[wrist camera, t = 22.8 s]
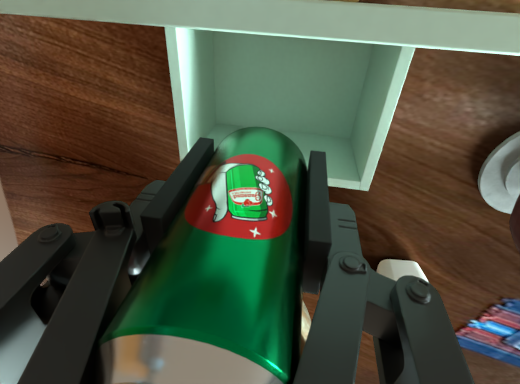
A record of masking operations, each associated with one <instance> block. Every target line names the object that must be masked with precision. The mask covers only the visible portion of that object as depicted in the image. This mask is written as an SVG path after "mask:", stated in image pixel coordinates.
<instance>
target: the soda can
mask: <svg viewBox="0 0 520 384" xmlns="http://www.w3.org/2000/svg"><path fill="white" fill-rule="evenodd" d="M306 189H307V166H306V161H305V158H304V156H303V154H302V152H301V150H300V149H299V147H298V146H297V145H296V144H295V143H294V142H293V141H292V140H291V139H290V138H289V137H287V136H286V135H284V134H282V133H281V132H278V131H276V130H274V129H270V128H266V127H257V126H255V127H246V128H241V129H239V130H236V131H234V132H232V133H230V134H229V135H227V136H226V137H225V138H224V139H223V140H222V141H221V142H220V143H219V145H218V146H217V148H216V149H215V151H214V153H213V154H212V156H211V158H210V159H209V161H208V162H207V164H206V166H205V167H204V169H203V171H202V172H201V174H200V176H199V177H198V179H197V180H196V182H195V184H194V185H193V187H192V189H191V190H190V192H189V193H188V195H187V197H186V198H185V200H184V202H183V203H182V205H181V206H180V208H179V210H178V211H177V213H176V215H175V216H174V218H173V220H172V221H171V223H170V224H169V226H168V228H167V229H166V231H165V233H164V234H163V236H162V237H161V239H160V241H159V242H158V244H157V246H156V247H155V249H154V251H153V252H152V254H151V255H150V257H149V259H148V260H147V262H146V264H145V265H144V267H143V268H142V270H141V272H140V273H139V275H138V277H137V278H136V280H135V282H134V283H133V285H132V286H131V288H130V290H129V291H128V293H127V295H126V296H125V298H124V299H123V301H122V303H121V304H120V306H119V308H118V309H117V311H116V313H115V314H114V316H113V317H112V319H111V321H110V322H109V324H108V326H107V327H106V329H105V330H104V332H103V334H102V335H101V337H100V339H99V340H98V342H97V344H96V347H95V358H94V384H293V382H294V378H295V375H296V372H297V368H298V365H299V362H300V357H301V329H302V301H303V273H304V245H305V217H306Z"/></svg>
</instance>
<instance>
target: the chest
mask: <svg viewBox="0 0 520 384" xmlns="http://www.w3.org/2000/svg"><path fill="white" fill-rule="evenodd" d="M164 28H165V37H166V45H167V53H168V62H169V70H170V79H171V87H172V95H173V104H174V112H175V120H176V129H177V137H178V145H179V154H180V162H181V161H182V160H183V159H184V157H185V156H186V155H187V153H188V152H189V151H190V149H191V148H192V147H193V146H194V144H195V143H196V142H197V140H198V139H199V138H200V137H202V138H210V139H214V151H215V149H216V148H217V146H218V145H219V143H220V142H221V141H222V140H223V139H224V138H225V137H226V136H227V135H229V134H230V133H232V132H234V131H236V130H239V129H241V128H246V127H255V126H257V127H266V128H270V129H274V130H276V131H278V132H281V133H282V134H284V135H286V136H287V137H289V138H290V139H291V140H292V141H293V142H294V143H295V144H296V145H297V146H298V147H299V149H300V150H301V152H302V154H303V156H304V158H305V161H306V166H307V169H308V163H309V157H310V151H311V150H313V151H322V152H326V164H327V178H328V186H333V187H341V188H349V189H357V190H358V189H359V190H365V191H368V190H369V187H370V184H371V181H372V178H373V175H374V172H375V168H376V165H377V162H378V159H379V156H380V153H381V150H382V147H383V144H384V141H385V138H386V135H387V132H388V129H389V126H390V123H391V120H392V117H393V114H394V111H395V108H396V105H397V102H398V98H399V95H400V92H401V89H402V86H403V83H404V80H405V77H406V74H407V71H408V68H409V65H410V62H411V59H412V56H413V53H414V50H415V47H408V46H395V45H383V44H371V43H359V42H346V41H334V40H322V39H309V38H297V37H285V36H272V35H260V34H248V33H235V32H223V31H211V30H199V29H186V28H174V27H164Z"/></svg>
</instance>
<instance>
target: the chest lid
mask: <svg viewBox="0 0 520 384" xmlns="http://www.w3.org/2000/svg"><path fill="white" fill-rule="evenodd" d="M358 1H359V0H333V1H328V0H0V13H2V14H14V15H26V16H39V17H51V18H63V19H76V20H88V21H100V22H112V23H125V24H137V25H149V26H162V27H174V28H186V29H199V30H211V31H223V32H235V33H248V34H260V35H272V36H285V37H297V38H309V39H322V40H334V41H346V42H359V43H371V44H383V45H395V46H408V47H420V48H432V49H445V50H457V51H469V52H482V53H494V54H506V55H518V56H520V14H517V13H502V12H488V11H473V10H459V9H444V8H430V7H415V6H401V5H386V4H372V3H357V2H358Z"/></svg>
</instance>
